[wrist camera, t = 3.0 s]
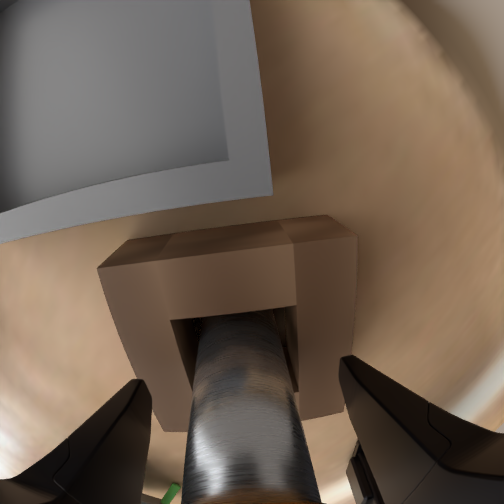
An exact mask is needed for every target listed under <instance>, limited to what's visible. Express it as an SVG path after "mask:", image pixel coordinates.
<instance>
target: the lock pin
mask: <svg viewBox="0 0 504 504" xmlns="http://www.w3.org/2000/svg"><path fill="white" fill-rule="evenodd" d="M181 504H325V503H322V502H321V498H320V494H319V490H318V486H317V482H316V478H315V474H314V470H313V466H312V462H311V458H310V454H309V450H308V446H307V442H306V438H305V434H304V430H303V426H302V423H301V419H300V415H299V411H298V407H297V403H296V399H295V395H294V391H293V387H292V383H291V379H290V375H289V371H288V368H287V364H286V360H285V356H284V352H283V348H282V344H281V340H280V336H279V333H278V329H277V325H276V321H275V317H274V313H273V309H265V310H257V311H249V312H241V313H233V314H224V315H215V316H205V317H203V320H202V326H201V333H200V340H199V347H198V354H197V361H196V369H195V376H194V384H193V392H192V400H191V408H190V417H189V426H188V435H187V444H186V454H185V464H184V475H183V487H182V500H181Z"/></svg>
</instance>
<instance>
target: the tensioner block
mask: <svg viewBox="0 0 504 504" xmlns="http://www.w3.org/2000/svg"><path fill="white" fill-rule="evenodd" d="M357 263H358V235H356V234H355V233H353V232H352V231H351V230H349V229H348V228H346V227H345V226H343V225H342V224H340V223H339V222H337V221H336V220H334V219H333V218H332V217H330V216H329V215H320V216H311V217H302V218H292V219H284V220H275V221H266V222H258V223H250V224H242V225H234V226H226V227H218V228H210V229H203V230H196V231H188V232H181V233H174V234H167V235H160V236H153V237H147V238H140V239H133V240H127V241H126V242H125V243H124V244H123V245H121V246H120V247H119V248H118V249H117V250H116V251H115V252H114V253H113V254H112V255H111V256H109V257H108V258H107V259H106V260H105V261H104V262H103V263H102V264H101V265H100V266H99V267H98V268H97V271H98V274H99V278H100V281H101V284H102V288H103V291H104V294H105V297H106V300H107V303H108V306H109V309H110V312H111V315H112V318H113V320H114V323H115V326H116V328H117V331H118V334H119V336H120V339H121V341H122V344H123V347H124V349H125V351H126V354H127V356H128V359H129V361H130V363H131V366H132V368H133V370H134V372H135V375H136V377H137V379H143V380H144V381H145V383H146V385H147V387H148V389H149V391H150V394H151V396H152V410H153V412H154V414H155V416H156V418H157V420H158V421H159V423H160V425H161V427H162V429H163V431H164V432H188V426H189V417H190V408H191V400H192V392H193V384H194V376H195V369H196V361H197V354H198V347H199V345H198V341H197V337H196V333H195V329H194V325H193V321H192V318H196V317H205V316H215V315H224V314H233V313H241V312H249V311H257V310H265V309H272V308H279V307H284V311H285V326H286V343H287V347H284V348H283V352H284V356H285V360H286V364H287V368H288V371H289V375H290V379H291V383H292V387H293V391H294V395H295V399H296V403H297V407H298V411H299V415H300V419H301V421H303V420H308V419H313V418H318V417H323V416H328V415H332V414H336V413H341V412H343V411H344V405H345V400H344V396H343V393H342V389H341V386H340V383H339V377H338V374H339V363H340V358H341V357H343V356H348V355H351V353H352V344H353V333H354V321H355V307H356V290H357Z"/></svg>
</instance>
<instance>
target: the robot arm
mask: <svg viewBox="0 0 504 504" xmlns="http://www.w3.org/2000/svg"><path fill="white" fill-rule="evenodd" d="M338 377H339V383H340V386H341V389H342V393H343V396H344V400H345V404H346V407H347V411H348V414H349V418H350V420H351V423H352V425H353V428H354V430H355V432H356V435H357V437H358V439H359V440H358V441H357V443H356V446H355V450H354V453H353V456H352V458H351V459H350V461H349V464H348V467H347V470H346V474H347V477H348V480H349V483H350V486H351V489H352V492H353V495H354V498H355V502H356V504H504V433H497V432H493V431H490V430H487V429H485V428H483V427H480V426H478V425H475V424H473V423H470V422H468V421H466V420H463V419H461V418H459V417H457V416H455V415H452V414H450V413H448V412H447V411H445V410H443V409H441V408H439V407H438V406H436V405H434V404H432V403H431V402H428V401H427V400H426V399H424V398H422V397H421V396H419V395H417V394H416V393H414V392H412V391H411V390H409V389H407V388H406V387H404V386H402V385H401V384H399V383H397V382H396V381H394V380H393V379H391V378H389V377H388V376H386V375H384V374H383V373H381V372H380V371H378V370H376V369H375V368H373V367H372V366H370V365H368V364H367V363H365V362H364V361H362V360H360V359H359V358H357V357H356V356H354V355H348V356H343V357H341V358H340V363H339V374H338ZM151 415H152V396H151V394H150V391H149V389H148V387H147V385H146V383H145V381H144V380H143V379H132V380H130V381H129V382H128V383H127V384H126V385H125V386H124V387H123V388H121V389H120V390H119V391H118V392H117V393H116V394H115V395H114V396H113V397H112V398H110V399H109V400H108V401H107V402H106V403H105V404H104V405H103V406H102V407H101V408H100V409H98V410H97V411H96V412H95V413H94V414H93V415H92V416H91V417H90V418H88V419H87V420H86V421H85V422H84V423H83V424H82V425H81V426H80V427H79V428H77V429H76V430H75V431H74V432H73V433H72V434H71V435H70V436H69V437H68V438H66V439H65V440H64V441H63V442H62V443H61V444H59V445H58V446H57V447H56V448H55V449H54V450H52V451H51V452H50V453H49V454H47V455H46V456H45V457H43V458H42V459H41V460H39V461H38V462H36V463H35V464H33V465H32V466H31V467H29V468H28V469H26V470H25V471H23V472H22V473H21V474H19V475H17V476H15V477H13V478H10V479H0V504H141V498H142V490H143V483H144V476H145V469H146V462H147V456H148V450H149V444H150V434H151Z"/></svg>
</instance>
